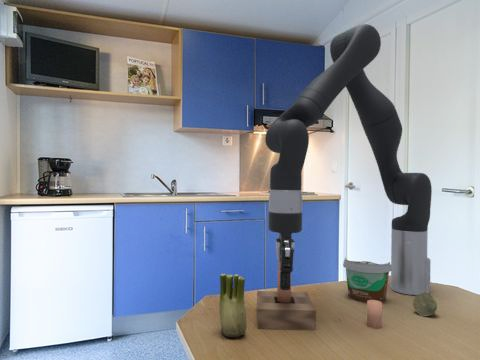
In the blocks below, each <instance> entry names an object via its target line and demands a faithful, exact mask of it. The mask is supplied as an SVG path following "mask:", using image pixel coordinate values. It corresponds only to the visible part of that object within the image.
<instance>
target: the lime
mask: <svg viewBox="0 0 480 360" xmlns="http://www.w3.org/2000/svg"><path fill="white" fill-rule="evenodd" d="M412 305H413V306H412V307H413V309H414V310H415V312H416V314H418V315H419V316H421V317H422V316H423V317H429V316H430V317H431V316H433V315H435V314H436V311H437V310H438V303H437V300H436V299H435V298H434V297H433V295H431V293H430V294H427V293H420V294H418V295H415V297H414V298H413V300H412Z"/></svg>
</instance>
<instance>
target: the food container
mask: <svg viewBox="0 0 480 360" xmlns="http://www.w3.org/2000/svg"><path fill="white" fill-rule="evenodd" d="M342 266H343V267H344V268H345V273H346V285H347V295H348V297H349V298H350V299H351V300H353V301H356V302H360V303H364V304H365V303H366V304H367V301H368V300H377V301H380V302H382V303H383V302H385V301H386V300H387V298H386V297H387V292H388V291H387V290H388V284H389V283H388V282H389V276H390V273H391V271H392V267H391V261H389V262H387V263H375V262H372V261H366V260H365V261H364V260H363V261H355V260H349V259H347V257H345V258H344V260H343V264H342Z"/></svg>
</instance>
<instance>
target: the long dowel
mask: <svg viewBox="0 0 480 360" xmlns="http://www.w3.org/2000/svg"><path fill="white" fill-rule="evenodd" d="M280 257H281V255H280ZM283 266H289V264H287V263H285V264H283ZM279 269H280V262H279V261H278V262H277V301H278V302H281V303H289V302H291V292H292V272H291V273H290V289H289V290H281V289H280V271H279Z"/></svg>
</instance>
